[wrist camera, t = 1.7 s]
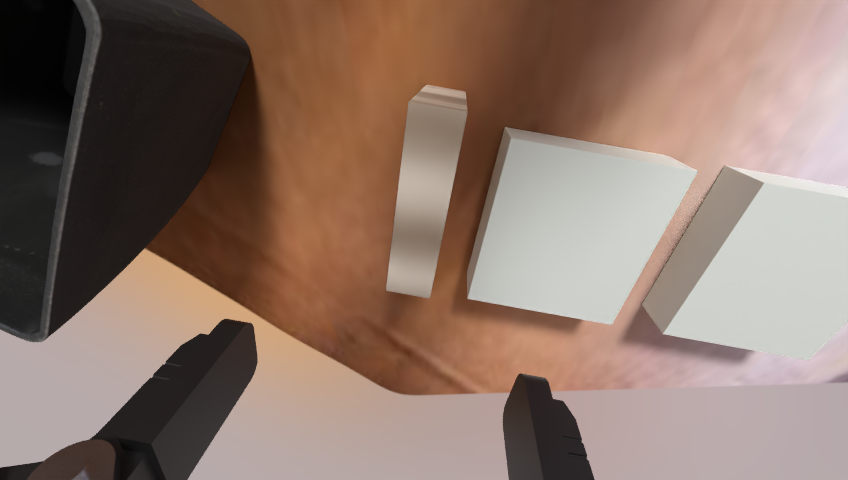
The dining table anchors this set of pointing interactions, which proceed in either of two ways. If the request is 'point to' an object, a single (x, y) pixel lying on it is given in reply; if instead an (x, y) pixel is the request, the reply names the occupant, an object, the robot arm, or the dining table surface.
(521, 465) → the robot arm
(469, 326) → the dining table surface
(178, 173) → the flower pot
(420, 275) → the beige metallic bar
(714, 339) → the slotted board
